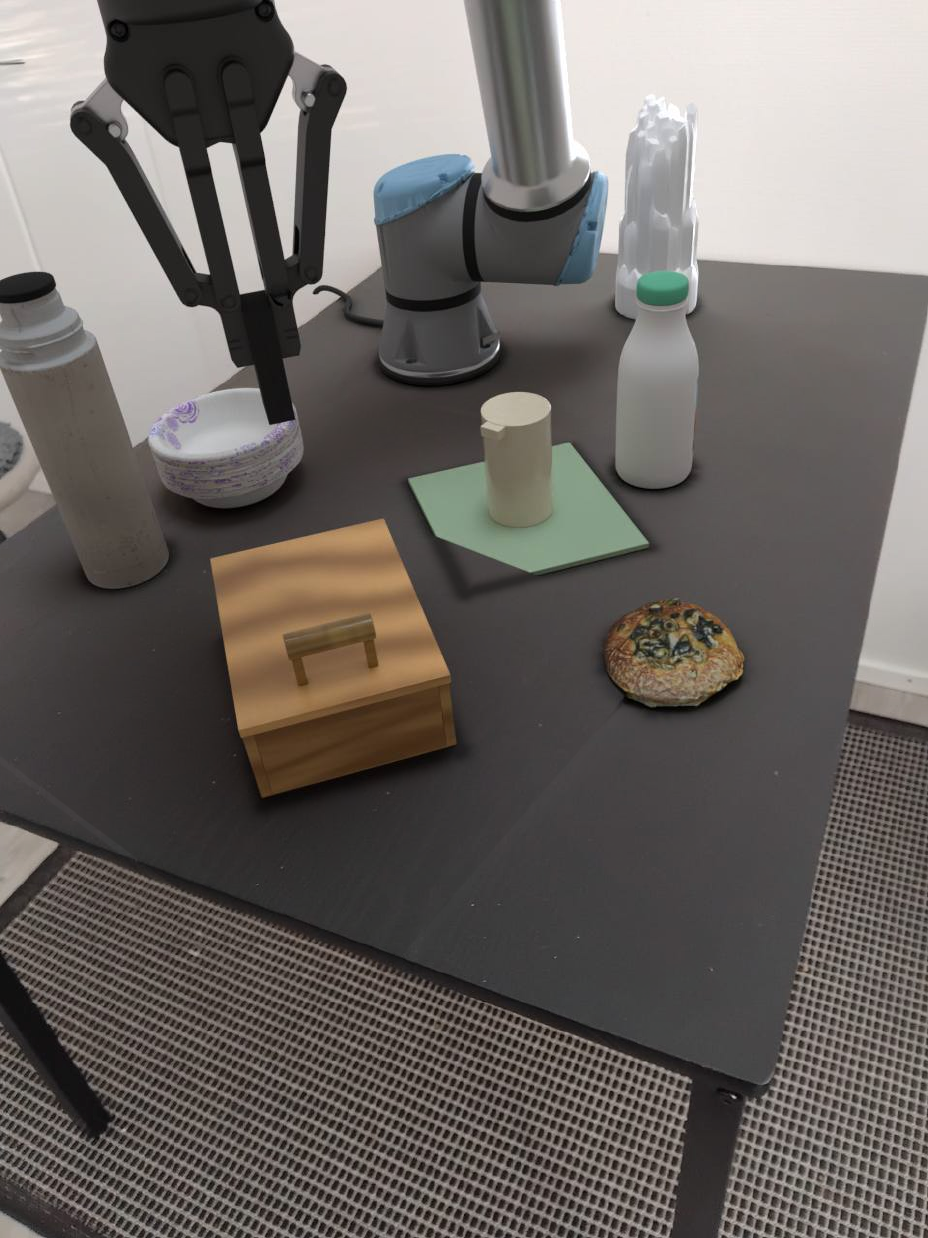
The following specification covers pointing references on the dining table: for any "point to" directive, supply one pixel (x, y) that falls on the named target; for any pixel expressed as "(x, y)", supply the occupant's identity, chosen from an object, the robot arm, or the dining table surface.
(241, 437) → the paper bowls
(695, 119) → the decorative vase
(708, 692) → the bread roll
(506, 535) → the mat
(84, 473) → the thermos bottle
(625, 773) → the dining table surface
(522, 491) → the jug
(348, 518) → the dining table surface
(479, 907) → the dining table surface
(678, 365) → the milk bottle
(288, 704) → the chest lid
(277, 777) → the chest
